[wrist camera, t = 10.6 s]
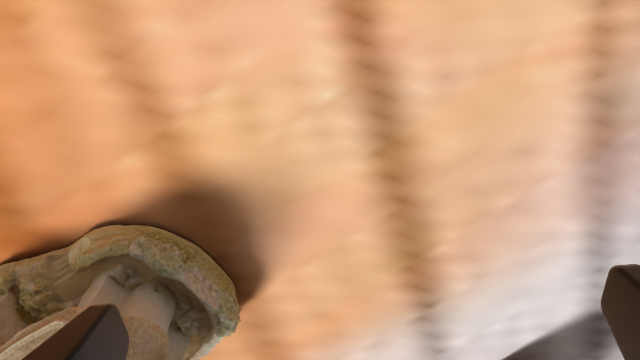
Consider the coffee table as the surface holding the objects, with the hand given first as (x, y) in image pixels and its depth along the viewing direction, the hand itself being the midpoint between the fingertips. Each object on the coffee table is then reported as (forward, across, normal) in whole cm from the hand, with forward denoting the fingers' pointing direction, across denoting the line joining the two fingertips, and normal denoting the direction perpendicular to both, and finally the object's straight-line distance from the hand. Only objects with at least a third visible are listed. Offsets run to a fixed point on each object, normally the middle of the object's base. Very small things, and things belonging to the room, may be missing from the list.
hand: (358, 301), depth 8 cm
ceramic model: (+12, +13, +11) cm, 21 cm away
